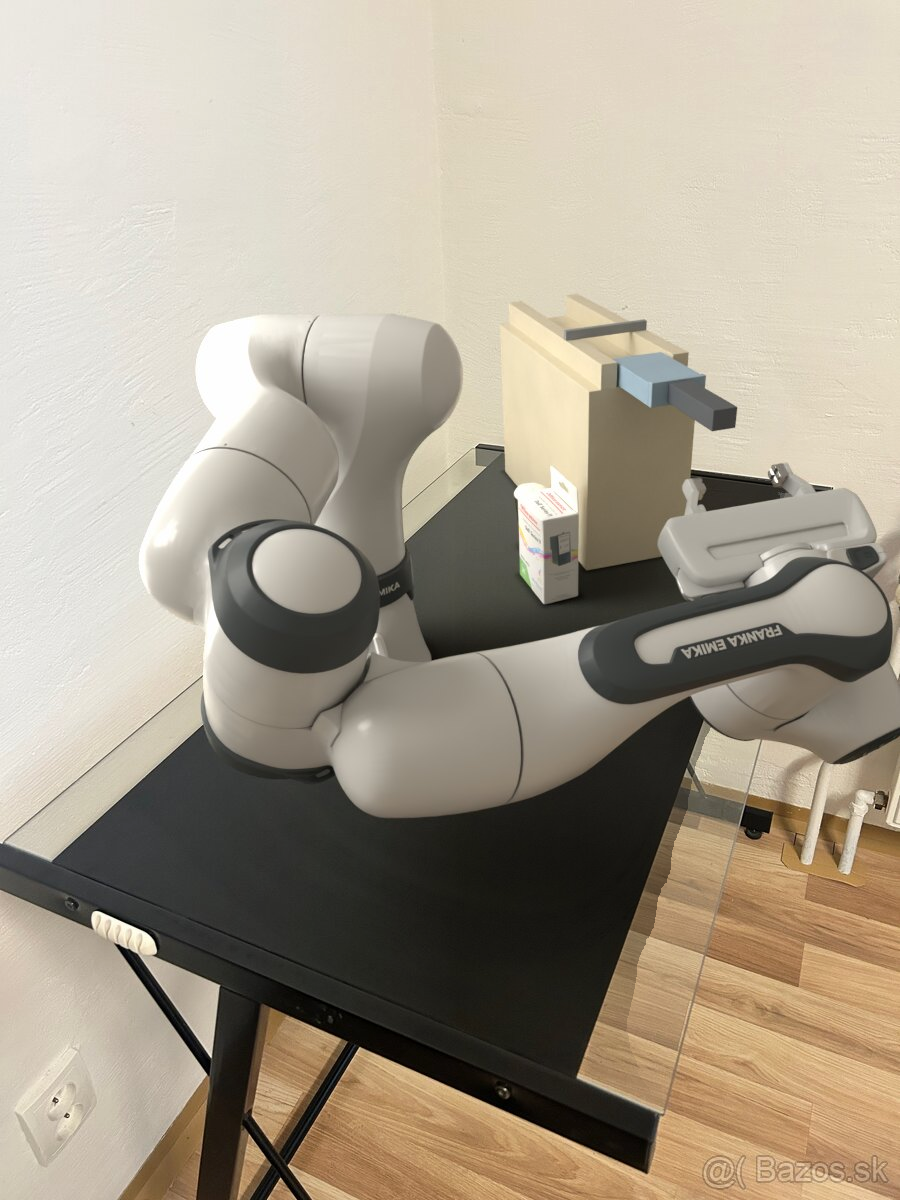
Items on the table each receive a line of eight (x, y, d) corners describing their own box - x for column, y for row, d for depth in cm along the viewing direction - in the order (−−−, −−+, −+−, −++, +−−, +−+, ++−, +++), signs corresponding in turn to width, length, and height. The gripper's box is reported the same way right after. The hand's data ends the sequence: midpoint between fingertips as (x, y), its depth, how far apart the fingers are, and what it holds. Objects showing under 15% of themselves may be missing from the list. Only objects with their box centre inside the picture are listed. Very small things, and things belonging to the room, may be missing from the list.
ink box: (517, 574, 116) (514, 470, 108) (552, 567, 117) (551, 462, 109) (543, 606, 109) (541, 496, 101) (580, 597, 110) (581, 488, 102)
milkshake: (552, 554, 120) (552, 486, 115) (513, 553, 121) (511, 486, 116) (556, 539, 124) (555, 473, 118) (518, 538, 125) (515, 472, 120)
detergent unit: (586, 570, 115) (589, 356, 101) (505, 471, 146) (498, 295, 131) (684, 552, 118) (701, 340, 103) (584, 458, 148) (586, 284, 134)
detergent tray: (694, 438, 88) (696, 411, 87) (610, 380, 106) (610, 357, 104) (752, 429, 89) (755, 402, 88) (659, 373, 107) (660, 350, 106)
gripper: (679, 627, 82) (629, 509, 89) (872, 588, 86) (810, 478, 93) (700, 593, 77) (645, 470, 84) (905, 553, 81) (837, 438, 87)
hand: (733, 474), depth 88 cm, fingers open, 8 cm apart
